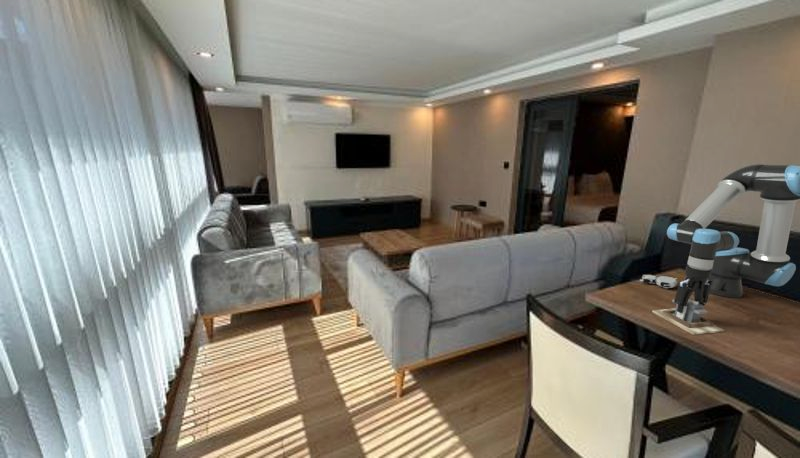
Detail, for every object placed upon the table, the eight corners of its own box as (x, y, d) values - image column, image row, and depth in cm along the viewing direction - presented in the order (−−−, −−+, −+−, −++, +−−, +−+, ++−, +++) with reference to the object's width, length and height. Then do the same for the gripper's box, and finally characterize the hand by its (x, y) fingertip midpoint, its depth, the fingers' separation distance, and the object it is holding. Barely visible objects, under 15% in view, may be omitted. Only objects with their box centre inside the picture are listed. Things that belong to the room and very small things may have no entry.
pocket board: (679, 309, 144) (680, 304, 143) (723, 331, 126) (725, 326, 126) (652, 312, 142) (653, 307, 141) (693, 334, 124) (694, 329, 124)
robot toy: (638, 285, 171) (674, 292, 160) (639, 277, 170) (675, 283, 159) (642, 279, 179) (677, 285, 169) (643, 271, 178) (678, 277, 168)
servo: (677, 312, 139) (681, 293, 137) (704, 325, 129) (709, 305, 127) (669, 313, 139) (673, 294, 137) (695, 326, 128) (700, 306, 126)
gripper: (709, 262, 133) (696, 312, 139) (669, 265, 130) (658, 315, 136) (729, 269, 126) (715, 321, 131) (688, 271, 123) (675, 325, 129)
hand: (686, 318), depth 134 cm, fingers open, 6 cm apart
